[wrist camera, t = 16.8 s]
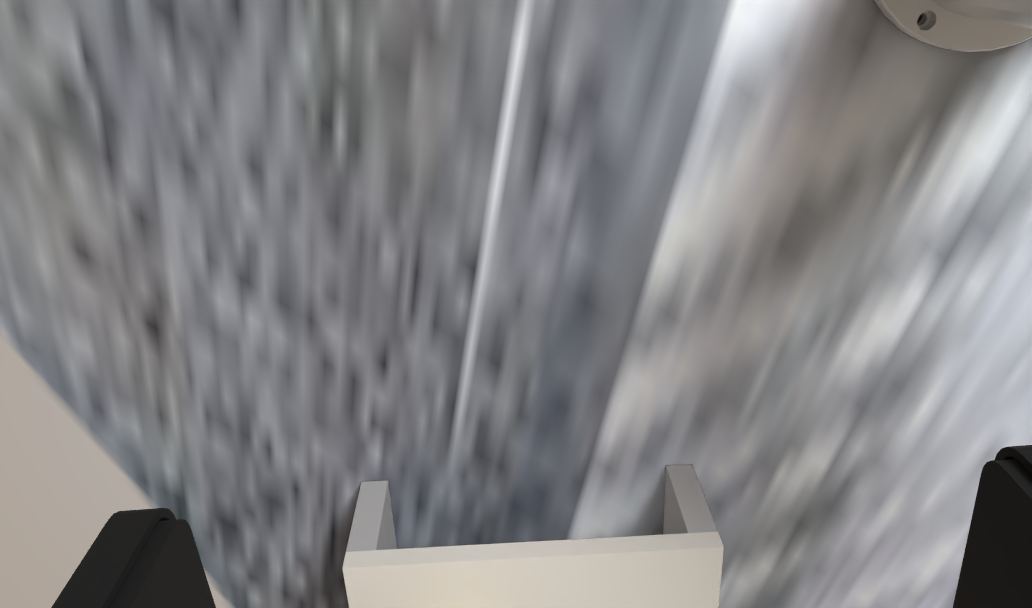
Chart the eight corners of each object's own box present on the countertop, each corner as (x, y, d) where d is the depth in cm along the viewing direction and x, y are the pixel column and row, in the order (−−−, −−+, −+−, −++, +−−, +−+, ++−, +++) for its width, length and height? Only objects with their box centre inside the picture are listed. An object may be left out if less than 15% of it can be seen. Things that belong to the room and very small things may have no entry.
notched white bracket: (692, 464, 49) (723, 547, 43) (681, 633, 55) (707, 728, 49) (361, 482, 49) (342, 568, 42) (386, 649, 55) (373, 747, 48)
